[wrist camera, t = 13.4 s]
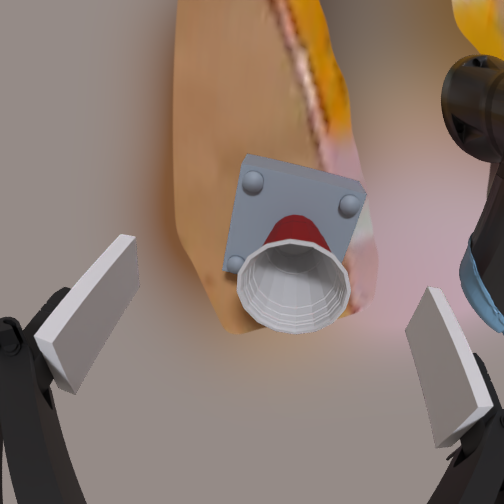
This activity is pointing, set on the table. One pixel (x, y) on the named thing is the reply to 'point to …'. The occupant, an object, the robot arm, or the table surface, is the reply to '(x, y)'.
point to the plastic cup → (294, 279)
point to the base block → (289, 206)
